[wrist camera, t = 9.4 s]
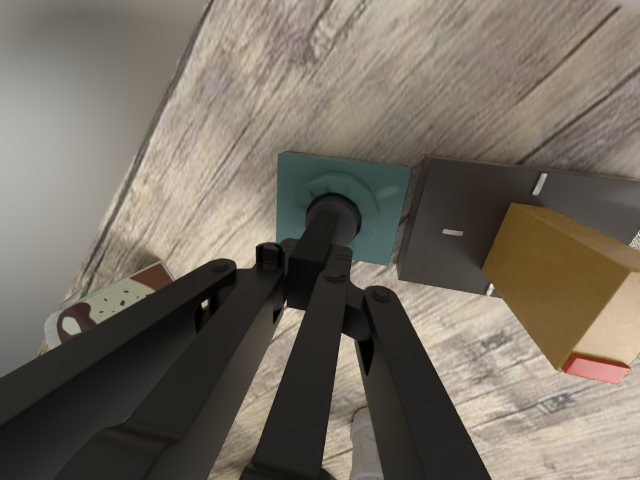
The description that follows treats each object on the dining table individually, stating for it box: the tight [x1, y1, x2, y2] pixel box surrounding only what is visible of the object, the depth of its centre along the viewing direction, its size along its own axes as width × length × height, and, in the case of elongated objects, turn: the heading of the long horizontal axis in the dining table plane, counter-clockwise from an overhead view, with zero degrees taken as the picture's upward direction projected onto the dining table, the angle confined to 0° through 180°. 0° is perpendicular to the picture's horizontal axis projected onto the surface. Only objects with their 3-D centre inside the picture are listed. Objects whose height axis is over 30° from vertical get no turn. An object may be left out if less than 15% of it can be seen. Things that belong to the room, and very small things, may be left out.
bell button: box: [305, 196, 358, 246], centre depth 18 cm, size 4×4×2 cm
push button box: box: [276, 151, 412, 266], centre depth 20 cm, size 10×8×4 cm
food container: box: [44, 260, 175, 350], centre depth 27 cm, size 12×6×10 cm, turn 22°
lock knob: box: [482, 203, 640, 384], centre depth 14 cm, size 6×2×9 cm, turn 174°
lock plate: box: [396, 154, 640, 298], centre depth 19 cm, size 14×10×3 cm
